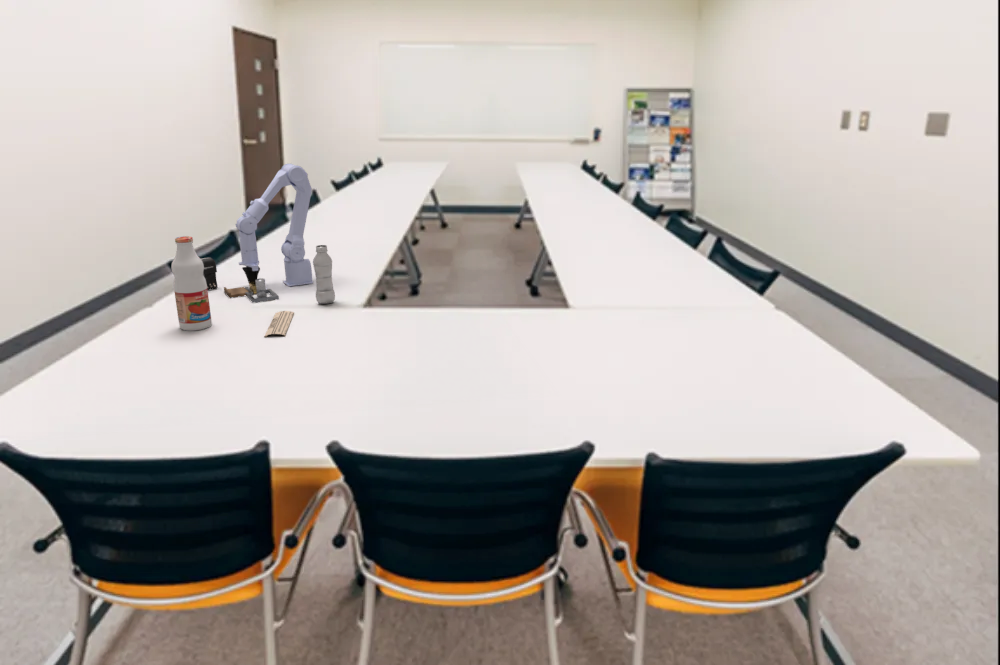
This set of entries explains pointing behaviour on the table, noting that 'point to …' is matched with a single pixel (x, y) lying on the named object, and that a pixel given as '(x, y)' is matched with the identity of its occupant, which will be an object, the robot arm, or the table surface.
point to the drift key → (253, 287)
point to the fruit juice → (190, 287)
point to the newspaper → (280, 323)
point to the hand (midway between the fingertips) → (253, 286)
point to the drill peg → (260, 288)
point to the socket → (274, 296)
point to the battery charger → (210, 273)
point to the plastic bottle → (323, 276)
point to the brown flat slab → (235, 291)
